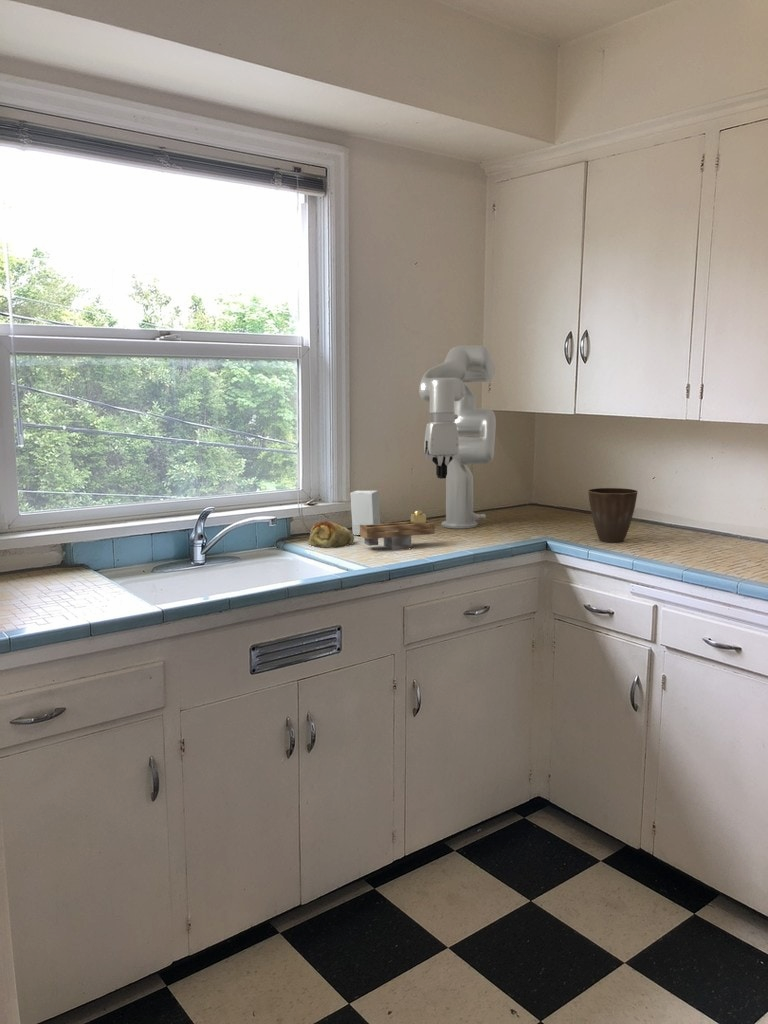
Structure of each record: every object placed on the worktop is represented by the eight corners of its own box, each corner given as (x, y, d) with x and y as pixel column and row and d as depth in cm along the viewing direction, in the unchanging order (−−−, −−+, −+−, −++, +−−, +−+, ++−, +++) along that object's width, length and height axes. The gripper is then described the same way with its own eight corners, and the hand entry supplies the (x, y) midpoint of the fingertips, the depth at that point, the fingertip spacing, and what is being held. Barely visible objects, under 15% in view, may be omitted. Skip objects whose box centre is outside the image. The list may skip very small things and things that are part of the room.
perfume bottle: (422, 525, 254) (422, 510, 253) (426, 527, 251) (425, 511, 250) (410, 526, 252) (410, 510, 252) (414, 528, 250) (414, 512, 249)
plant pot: (577, 541, 257) (579, 490, 255) (602, 534, 267) (603, 486, 265) (620, 547, 247) (622, 495, 244) (644, 540, 257) (646, 490, 255)
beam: (425, 542, 258) (425, 519, 257) (435, 546, 250) (435, 523, 249) (359, 547, 250) (359, 524, 249) (368, 552, 243) (367, 528, 242)
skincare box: (381, 534, 273) (380, 490, 271) (373, 537, 267) (373, 492, 265) (358, 532, 276) (357, 489, 274) (350, 535, 271) (349, 491, 268)
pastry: (304, 548, 251) (303, 523, 250) (313, 541, 263) (312, 516, 262) (349, 549, 249) (349, 523, 248) (356, 541, 261) (355, 517, 260)
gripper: (458, 417, 255) (458, 475, 258) (414, 418, 250) (414, 478, 253) (469, 418, 248) (468, 478, 251) (424, 419, 243) (424, 480, 246)
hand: (441, 477), depth 252 cm, fingers closed
